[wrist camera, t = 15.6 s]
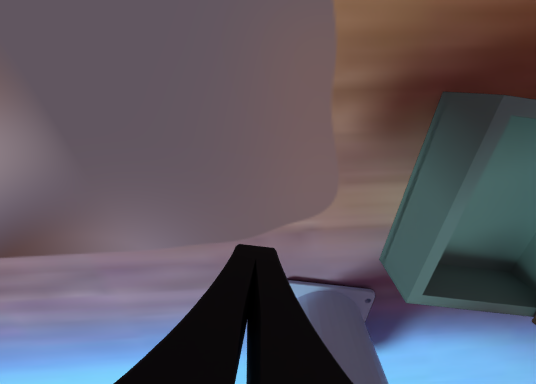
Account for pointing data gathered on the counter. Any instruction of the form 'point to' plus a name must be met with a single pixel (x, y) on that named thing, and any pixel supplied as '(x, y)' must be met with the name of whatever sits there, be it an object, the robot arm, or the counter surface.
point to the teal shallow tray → (470, 209)
